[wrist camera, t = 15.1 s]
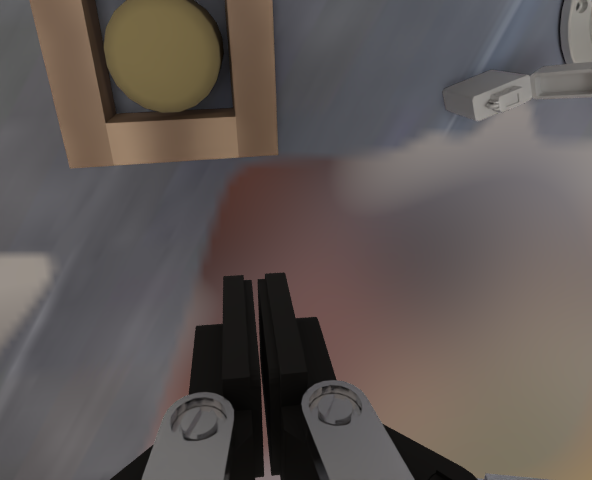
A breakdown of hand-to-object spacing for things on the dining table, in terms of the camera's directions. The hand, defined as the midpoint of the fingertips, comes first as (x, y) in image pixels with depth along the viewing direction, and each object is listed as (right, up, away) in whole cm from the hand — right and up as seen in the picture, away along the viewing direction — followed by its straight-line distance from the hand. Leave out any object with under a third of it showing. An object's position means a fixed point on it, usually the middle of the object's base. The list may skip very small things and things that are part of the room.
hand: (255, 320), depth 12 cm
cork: (-7, +15, +17) cm, 24 cm away
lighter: (+15, +14, +22) cm, 30 cm away
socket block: (-7, +15, +17) cm, 23 cm away
